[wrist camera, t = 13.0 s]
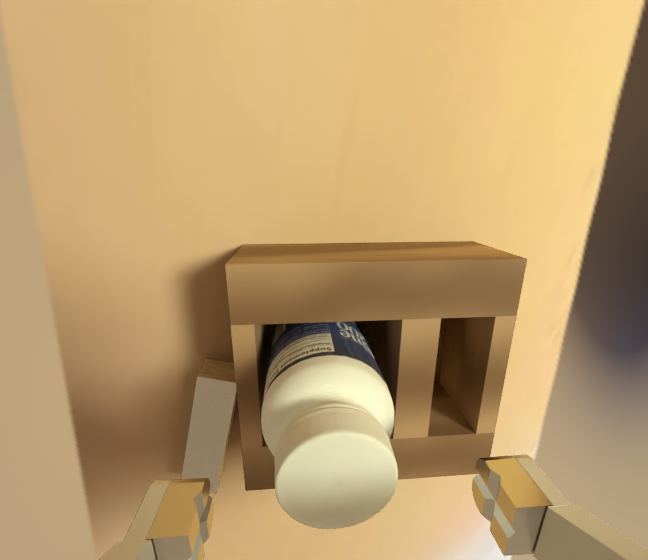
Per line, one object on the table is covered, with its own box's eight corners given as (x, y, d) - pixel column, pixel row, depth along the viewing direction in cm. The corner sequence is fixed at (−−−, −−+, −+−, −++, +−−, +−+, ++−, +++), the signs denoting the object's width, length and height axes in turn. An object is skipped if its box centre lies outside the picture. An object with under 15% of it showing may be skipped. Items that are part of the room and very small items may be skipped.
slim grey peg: (208, 355, 19) (197, 376, 17) (244, 362, 20) (237, 383, 18) (191, 459, 22) (179, 489, 19) (224, 463, 22) (216, 493, 20)
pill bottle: (374, 356, 20) (443, 506, 11) (297, 391, 20) (299, 567, 11) (339, 282, 18) (385, 384, 9) (256, 321, 19) (218, 459, 9)
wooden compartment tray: (242, 244, 17) (224, 264, 13) (473, 241, 18) (527, 259, 14) (256, 427, 21) (245, 490, 16) (449, 416, 22) (486, 473, 17)
